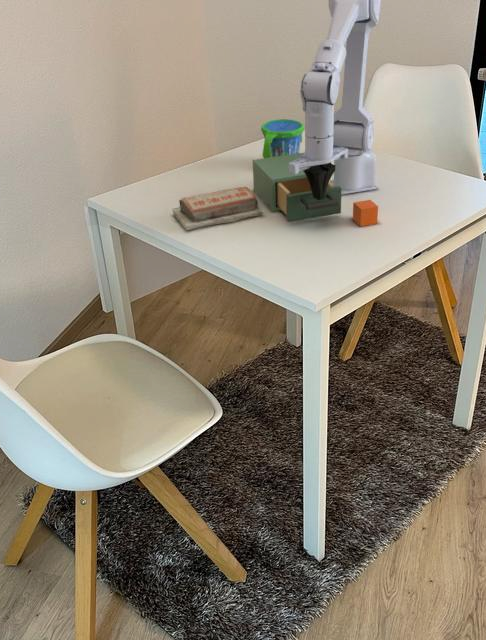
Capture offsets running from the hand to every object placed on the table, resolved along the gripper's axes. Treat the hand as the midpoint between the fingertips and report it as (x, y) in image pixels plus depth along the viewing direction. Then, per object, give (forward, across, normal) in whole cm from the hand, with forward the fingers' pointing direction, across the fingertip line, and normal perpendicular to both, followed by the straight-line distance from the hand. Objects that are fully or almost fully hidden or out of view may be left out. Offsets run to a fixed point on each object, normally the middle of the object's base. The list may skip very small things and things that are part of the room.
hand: (318, 198), depth 154 cm
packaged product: (+6, +14, -18) cm, 24 cm away
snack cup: (+6, -18, -34) cm, 39 cm away
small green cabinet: (+6, -5, -16) cm, 18 cm away
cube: (+6, -9, +6) cm, 12 cm away
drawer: (+5, -2, -5) cm, 8 cm away
